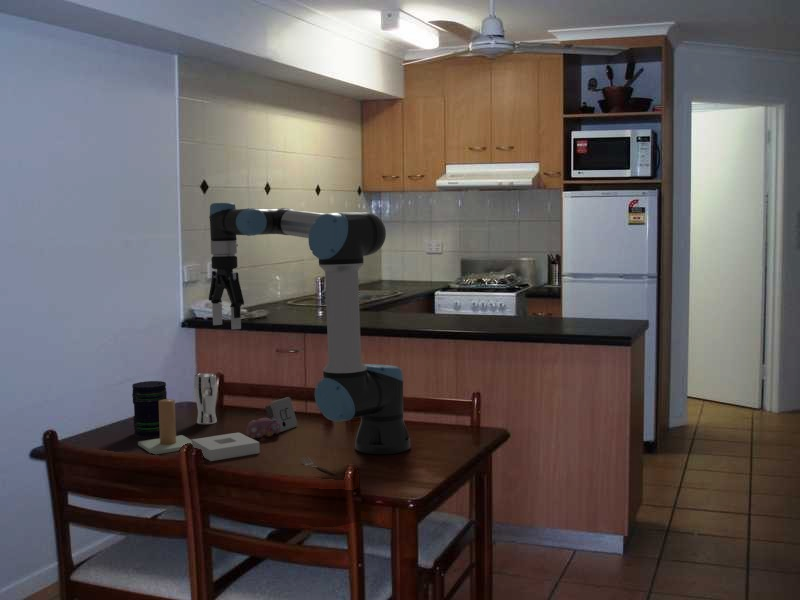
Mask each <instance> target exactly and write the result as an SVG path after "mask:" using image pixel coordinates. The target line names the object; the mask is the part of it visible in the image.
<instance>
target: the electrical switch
mask: <svg viewBox="0 0 800 600" xmlns="http://www.w3.org/2000/svg"><path fill="white" fill-rule="evenodd" d="M264 408H265V412H266V416H267V418H269V419H273V418H275V419H276V420H277V421H278V422H279V423H280V432H279V433H282V432H283V433H284V432H285V431H288V430H291V429H293V428H295V427H298V421H297V417H296V414H295V410H294V407H293V401H292V398H291V397H289V396H286V397H284V398H281V399H278V400H274V401H271V402H270V404H269V405H266V406H264ZM279 433H278V434H279Z"/></svg>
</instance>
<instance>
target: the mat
mask: <svg viewBox="0 0 800 600" xmlns="http://www.w3.org/2000/svg"><path fill="white" fill-rule="evenodd" d="M187 443H191V444H192V439H190V438H188V437H187V436H185V435H183V434H180V435H176V443H175V444H170V445H162V444H160V437H159V438H153V439H147V440H140V441H137V446H139V447H140V448H142V449H143V450H145V451H147V452H148V453H149V454H151V453H153V454H155V455H160V454H161V455H162V454H166V453H167V454H168V453H172V452H173V453H174V452H180V451H179V450H180V448H181V447H182V446H183V445H185V444H187Z"/></svg>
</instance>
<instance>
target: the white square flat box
mask: <svg viewBox="0 0 800 600" xmlns="http://www.w3.org/2000/svg"><path fill="white" fill-rule="evenodd" d="M191 440H192V445H193V447H194V448H198V449H201V450H202V453H203V456H204V457H203V456H202V457H203V458H205V459H206V460H208V461H209V462H213V461H219V460H226V459H232V458H239V457H245V456H250V455H251V456H252V455H256V454H257V455H258V454H260V453H261V450H260V449H261V448H260V441H257V440H256V439H253V438H251V436H249V437H248V436H247V435H245V434H243V433H241V432H233V433H226V434H219V435H212V436H206V437H200V438H191Z"/></svg>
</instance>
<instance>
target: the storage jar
mask: <svg viewBox="0 0 800 600" xmlns="http://www.w3.org/2000/svg"><path fill="white" fill-rule="evenodd" d="M131 394H132V395H131V397H132V404H133V413H134V415H133V418H132V420H133V427H134V428H133V430H134V436H135V437H138V438H147V439H148V438H157V437H160V430H159V400H164V399H168V397H167V382H166V381H161V380H150V381H149V380H147V381H139V382H136V383H135V382H134V383H133V384H132V393H131Z"/></svg>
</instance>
